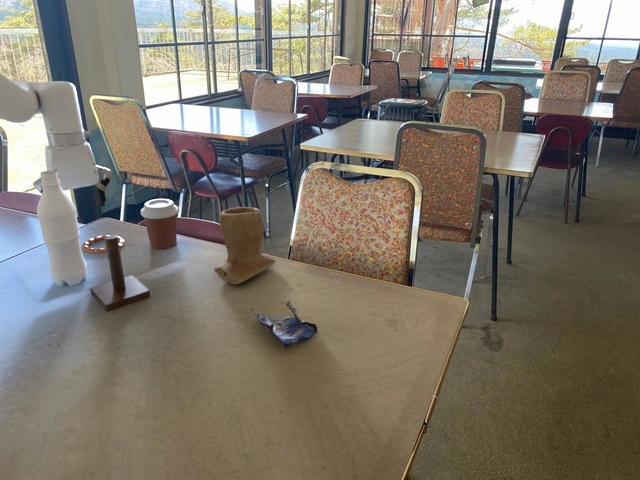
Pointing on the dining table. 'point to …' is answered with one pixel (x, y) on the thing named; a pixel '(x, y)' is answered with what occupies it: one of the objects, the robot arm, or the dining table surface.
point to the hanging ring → (98, 251)
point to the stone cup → (242, 244)
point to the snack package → (287, 327)
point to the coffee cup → (160, 222)
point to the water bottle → (60, 232)
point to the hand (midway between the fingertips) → (80, 209)
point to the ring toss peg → (118, 281)
